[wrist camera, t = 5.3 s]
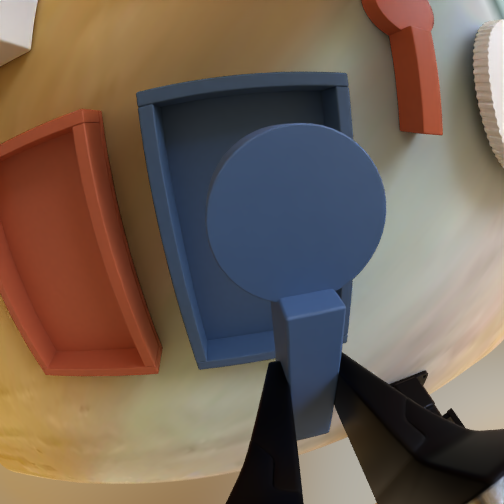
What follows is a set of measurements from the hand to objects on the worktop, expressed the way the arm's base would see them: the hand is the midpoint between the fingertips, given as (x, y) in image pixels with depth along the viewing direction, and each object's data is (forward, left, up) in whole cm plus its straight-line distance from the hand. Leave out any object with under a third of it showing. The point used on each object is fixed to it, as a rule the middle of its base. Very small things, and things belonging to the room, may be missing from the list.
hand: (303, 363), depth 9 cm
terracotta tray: (+2, +12, -8) cm, 15 cm away
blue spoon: (+2, 0, -1) cm, 2 cm away
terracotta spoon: (+12, -10, -8) cm, 18 cm away
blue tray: (+2, 0, -8) cm, 9 cm away
